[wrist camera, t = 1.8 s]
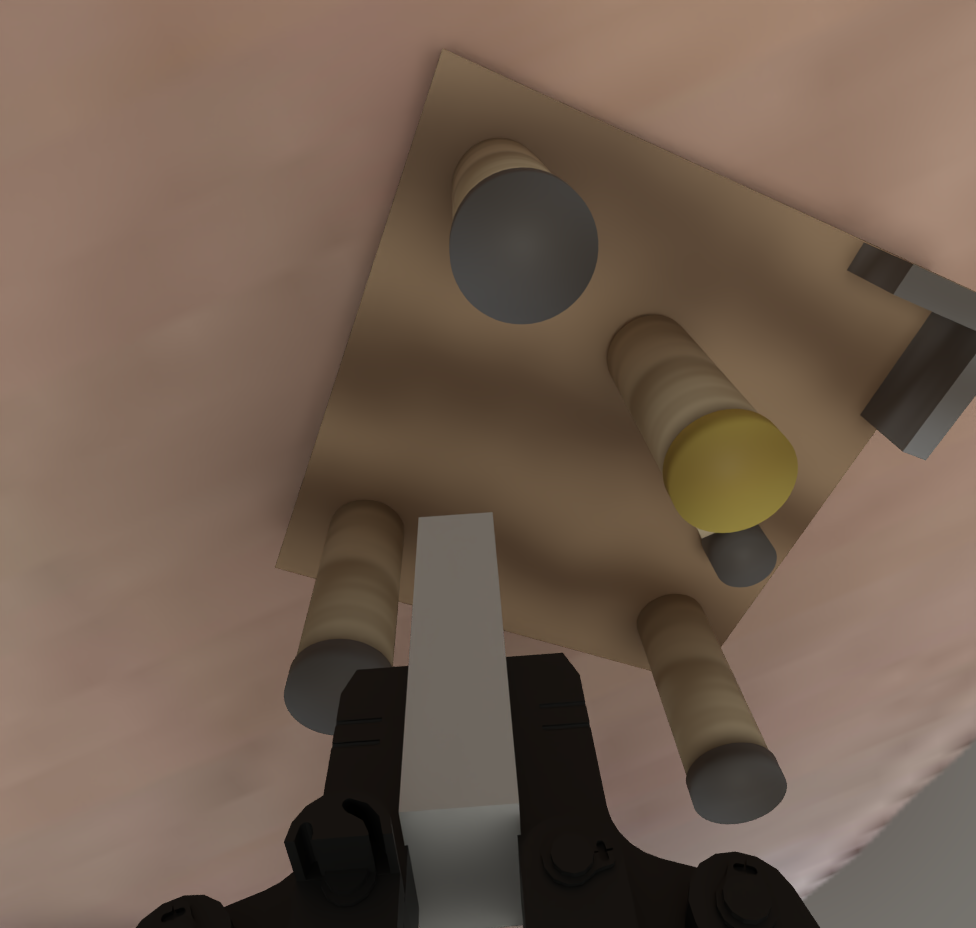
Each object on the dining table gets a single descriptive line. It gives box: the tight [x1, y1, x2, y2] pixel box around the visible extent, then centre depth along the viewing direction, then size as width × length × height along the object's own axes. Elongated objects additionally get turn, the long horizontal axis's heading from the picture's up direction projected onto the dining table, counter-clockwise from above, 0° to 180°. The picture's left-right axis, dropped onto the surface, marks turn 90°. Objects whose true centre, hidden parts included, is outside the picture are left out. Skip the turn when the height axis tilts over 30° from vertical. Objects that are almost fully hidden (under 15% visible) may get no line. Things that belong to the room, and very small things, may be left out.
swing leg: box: [607, 315, 798, 587], centre depth 24 cm, size 12×3×9 cm, turn 28°
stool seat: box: [275, 49, 976, 824], centre depth 25 cm, size 20×20×11 cm
